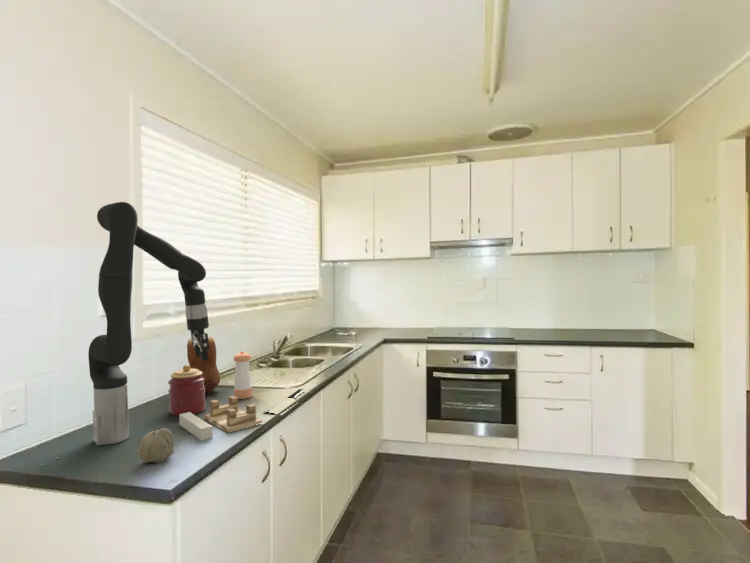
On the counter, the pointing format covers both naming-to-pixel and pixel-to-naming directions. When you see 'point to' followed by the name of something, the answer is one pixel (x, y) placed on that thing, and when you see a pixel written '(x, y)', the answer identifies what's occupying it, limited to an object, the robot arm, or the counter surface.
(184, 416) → the cream white rectangular bar
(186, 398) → the canister
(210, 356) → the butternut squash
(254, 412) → the wooden plate with pegs
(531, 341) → the counter surface
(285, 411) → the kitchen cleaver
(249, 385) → the salt shaker
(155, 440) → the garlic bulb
